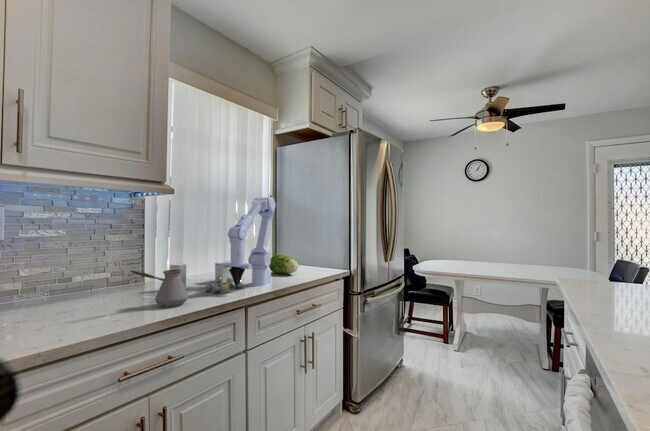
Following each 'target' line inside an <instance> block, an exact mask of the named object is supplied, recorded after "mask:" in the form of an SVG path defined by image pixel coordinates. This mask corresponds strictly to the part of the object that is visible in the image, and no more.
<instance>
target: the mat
mask: <svg viewBox="0 0 650 431" xmlns="http://www.w3.org/2000/svg"><path fill="white" fill-rule="evenodd" d="M245 289H247V287H242V289H236V286H233V287H231V290H229V291H220V293H218V294H217V295H219V296H220V295H221V296H225V295H228V294H231V293H235V292H239V291H242V290H245ZM193 292H199V293H206V287H203V288H198V289H195V290H193ZM206 294H207V293H206ZM209 294H212V295H215V294H214V293H213V292H210V293H209Z"/></svg>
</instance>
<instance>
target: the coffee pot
mask: <svg viewBox="0 0 650 431" xmlns="http://www.w3.org/2000/svg"><path fill="white" fill-rule="evenodd" d="M181 271H182V270H170V269H166V270H164V271H162V273H163V274H164V277H160V276H155V275H152V274H149V273H146V272H142V271H141V272H140V271H139V270H138V271H135V270H130V271H129V272H128V273H127V276H128V277H132V276H133V274H135V275H139V276H141V277H145V278H149V279H154V280H158V281H162V283H161V285H160V287H159V288H158V292H157V293H156V296H155V298H154V301H155V302H156V304H158V305H159V306H160V307H161V308H175V307H180V306H183V304H184V303H185V302H186V301H188V299H189V296H190V295H189V293H188V291H187V288H186V289H185V286H184V284H183V282H182V280H181V278H180V272H181ZM130 273H131V275H129V274H130Z"/></svg>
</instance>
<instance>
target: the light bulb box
mask: <svg viewBox="0 0 650 431" xmlns="http://www.w3.org/2000/svg"><path fill="white" fill-rule="evenodd" d="M226 262H228V263H231V260H227V261H226V260H225V261H219V262H218V261H217V262H215V263H214V283H216V277H222V283H224V282H227V278H233V277H232V275H231V273H230V271H229V269H231V267H223V263H226ZM236 267H239V266H236ZM233 283H234V281H233Z"/></svg>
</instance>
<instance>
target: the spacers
mask: <svg viewBox="0 0 650 431" xmlns="http://www.w3.org/2000/svg"><path fill="white" fill-rule="evenodd" d="M227 282H229V283H231V287H234V286H233V285H234V282H233V278H227ZM220 283H222V277H216V282H214V283H213V282H212V281H209V282H205V288H206V294H211V293H210V292H213V293H214V294H213V295H219V294H218V293H220ZM235 287H236V289H242V288H243V280H242V279H241V281H240V284H238V285H235ZM242 290H243V289H242Z"/></svg>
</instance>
